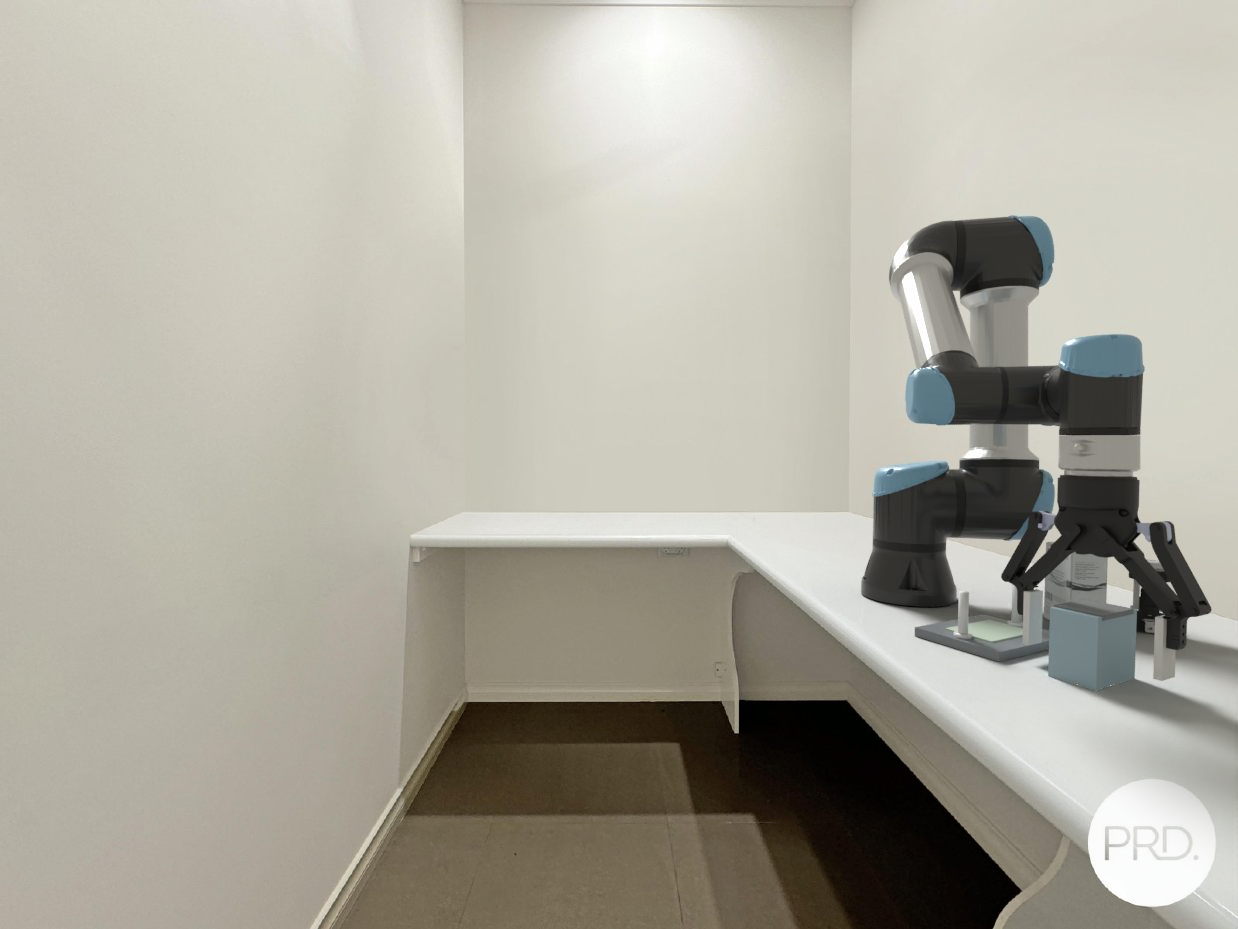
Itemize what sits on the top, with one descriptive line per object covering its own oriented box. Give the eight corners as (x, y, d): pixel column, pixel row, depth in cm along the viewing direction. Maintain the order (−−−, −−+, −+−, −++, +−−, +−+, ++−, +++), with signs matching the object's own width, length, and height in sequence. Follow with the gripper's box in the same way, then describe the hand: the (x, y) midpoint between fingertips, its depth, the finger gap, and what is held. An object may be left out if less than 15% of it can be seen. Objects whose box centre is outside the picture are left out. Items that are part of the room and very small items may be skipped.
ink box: (1107, 635, 92) (1110, 551, 92) (1068, 632, 93) (1070, 550, 93) (1077, 618, 100) (1080, 542, 100) (1042, 616, 101) (1044, 540, 101)
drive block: (1047, 676, 76) (1049, 605, 76) (1086, 665, 80) (1088, 598, 79) (1096, 691, 71) (1098, 616, 71) (1135, 679, 75) (1137, 608, 75)
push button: (1116, 631, 93) (1118, 562, 93) (1109, 622, 98) (1112, 556, 98) (1176, 638, 90) (1179, 566, 90) (1166, 629, 95) (1169, 560, 95)
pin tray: (914, 635, 91) (915, 584, 91) (982, 622, 98) (984, 574, 98) (998, 661, 81) (1000, 603, 80) (1068, 644, 87) (1070, 590, 87)
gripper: (973, 470, 84) (969, 635, 84) (1222, 479, 62) (1215, 702, 62) (1009, 469, 87) (1005, 628, 88) (1257, 478, 65) (1250, 689, 66)
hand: (1092, 659), depth 75 cm, fingers open, 13 cm apart
